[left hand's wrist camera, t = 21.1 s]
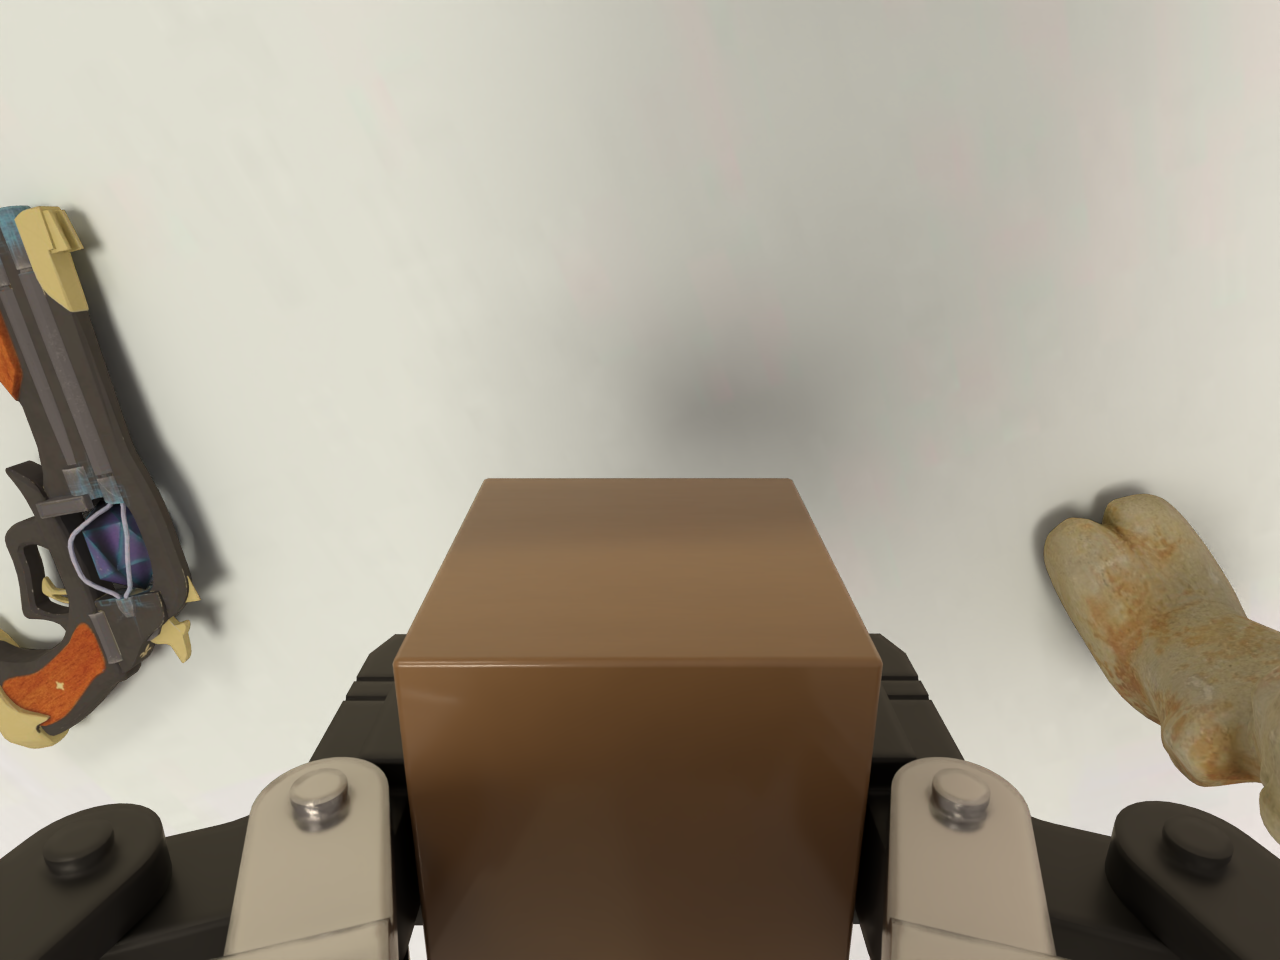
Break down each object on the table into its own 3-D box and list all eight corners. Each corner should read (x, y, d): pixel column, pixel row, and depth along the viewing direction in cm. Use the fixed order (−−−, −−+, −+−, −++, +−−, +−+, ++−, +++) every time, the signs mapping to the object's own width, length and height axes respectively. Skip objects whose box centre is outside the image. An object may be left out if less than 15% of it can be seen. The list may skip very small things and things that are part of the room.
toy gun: (-6, 767, 32) (227, 743, 30) (-241, 260, 27) (23, 196, 25) (50, 726, 34) (268, 702, 33) (-154, 256, 29) (91, 198, 28)
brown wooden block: (483, 476, 12) (388, 661, 7) (792, 476, 12) (886, 660, 7) (503, 774, 14) (437, 1068, 9) (772, 774, 14) (838, 1068, 9)
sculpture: (1164, 463, 30) (1620, 711, 16) (1204, 623, 33) (1635, 965, 18) (1007, 523, 31) (1311, 811, 17) (1057, 676, 33) (1362, 1042, 19)
